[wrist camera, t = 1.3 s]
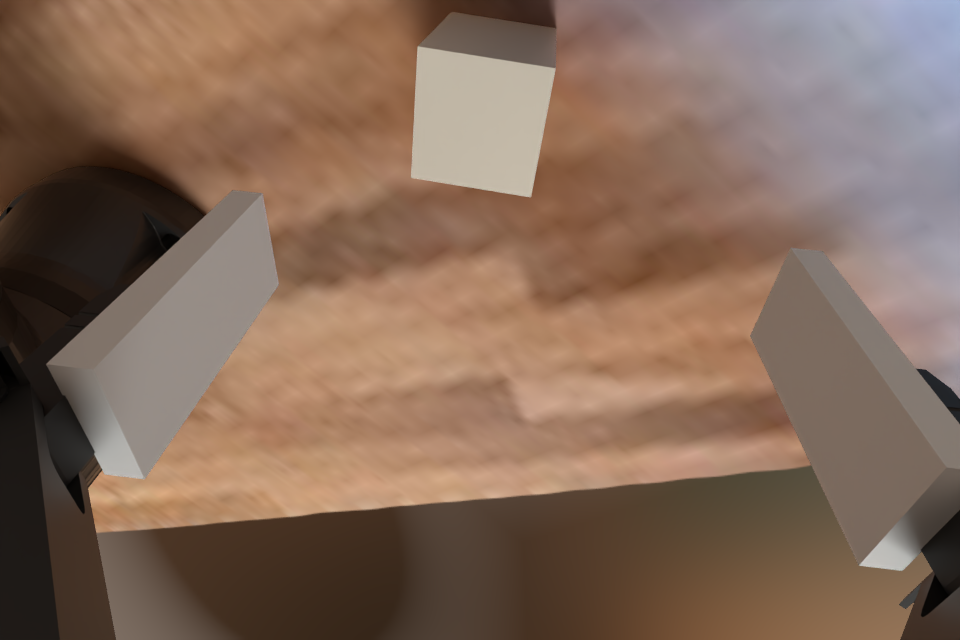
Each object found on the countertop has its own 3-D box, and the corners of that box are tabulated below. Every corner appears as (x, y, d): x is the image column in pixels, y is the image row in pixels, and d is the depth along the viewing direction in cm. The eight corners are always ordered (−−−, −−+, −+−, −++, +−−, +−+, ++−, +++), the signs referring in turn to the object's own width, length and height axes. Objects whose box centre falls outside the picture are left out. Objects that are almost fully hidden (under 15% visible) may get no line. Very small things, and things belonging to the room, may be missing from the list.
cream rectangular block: (442, 118, 29) (411, 177, 23) (451, 11, 26) (417, 46, 20) (537, 133, 29) (530, 197, 23) (556, 28, 26) (555, 68, 20)
